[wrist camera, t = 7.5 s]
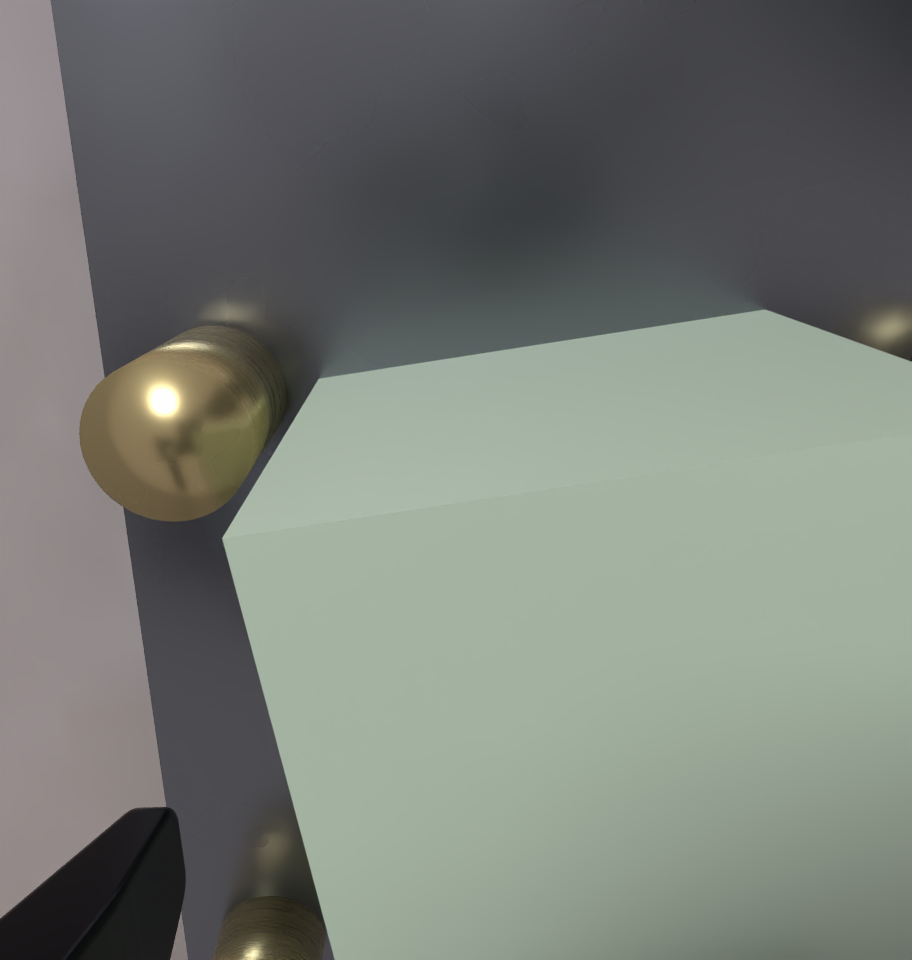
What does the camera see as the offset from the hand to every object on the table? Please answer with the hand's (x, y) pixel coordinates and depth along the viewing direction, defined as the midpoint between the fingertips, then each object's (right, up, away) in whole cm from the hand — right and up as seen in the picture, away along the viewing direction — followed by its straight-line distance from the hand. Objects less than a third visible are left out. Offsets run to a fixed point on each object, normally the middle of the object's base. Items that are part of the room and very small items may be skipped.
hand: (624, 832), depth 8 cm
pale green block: (0, +1, +2) cm, 2 cm away
